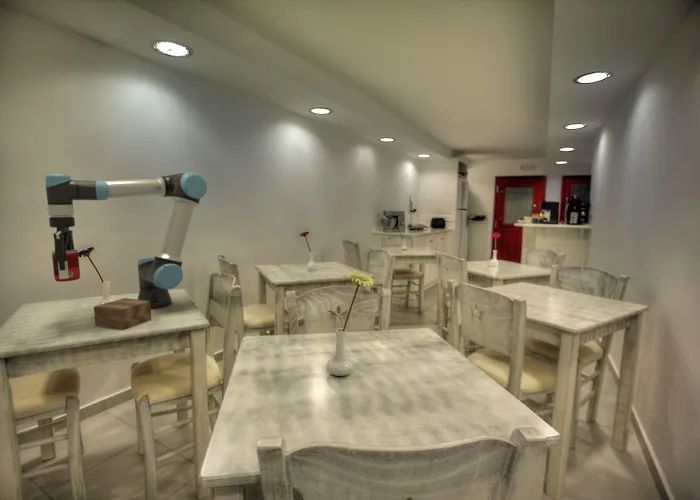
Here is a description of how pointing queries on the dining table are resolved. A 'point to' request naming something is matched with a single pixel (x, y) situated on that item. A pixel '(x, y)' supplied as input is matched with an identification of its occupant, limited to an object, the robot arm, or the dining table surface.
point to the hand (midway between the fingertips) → (67, 276)
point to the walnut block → (122, 313)
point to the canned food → (72, 266)
